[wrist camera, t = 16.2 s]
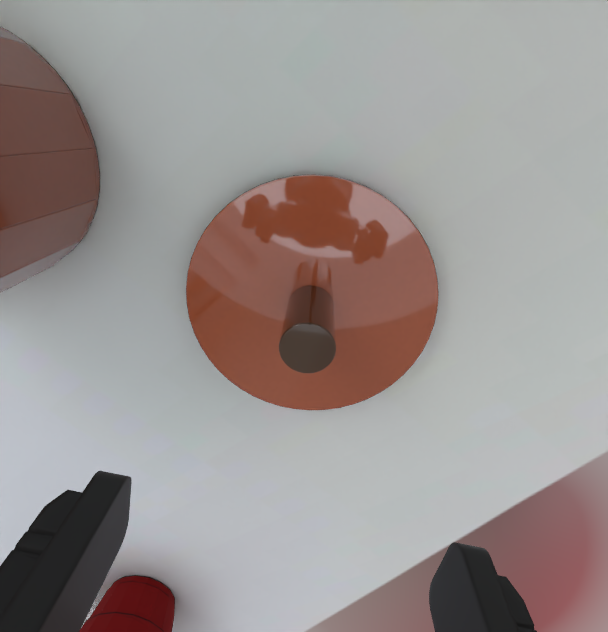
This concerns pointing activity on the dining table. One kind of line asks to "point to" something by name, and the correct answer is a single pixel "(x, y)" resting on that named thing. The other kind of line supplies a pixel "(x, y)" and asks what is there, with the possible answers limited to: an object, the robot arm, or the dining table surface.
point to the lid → (312, 292)
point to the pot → (41, 165)
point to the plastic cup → (133, 607)
